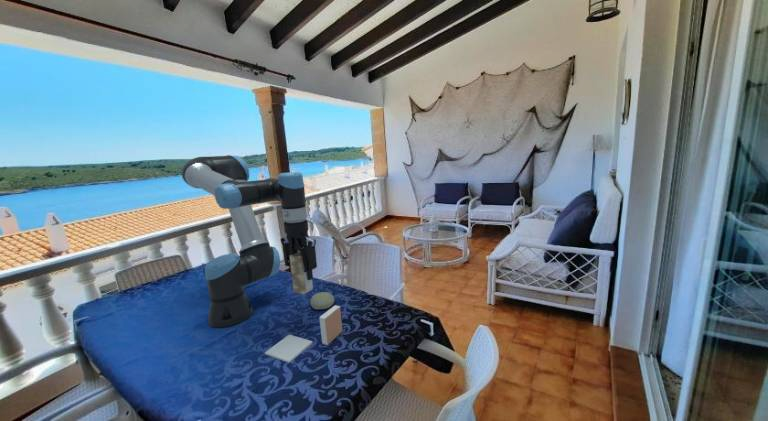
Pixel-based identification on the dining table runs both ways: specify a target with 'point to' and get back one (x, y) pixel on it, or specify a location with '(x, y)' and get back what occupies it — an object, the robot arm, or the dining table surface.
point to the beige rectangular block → (298, 273)
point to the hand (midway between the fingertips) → (303, 287)
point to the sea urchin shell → (322, 300)
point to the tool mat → (288, 348)
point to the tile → (330, 324)
